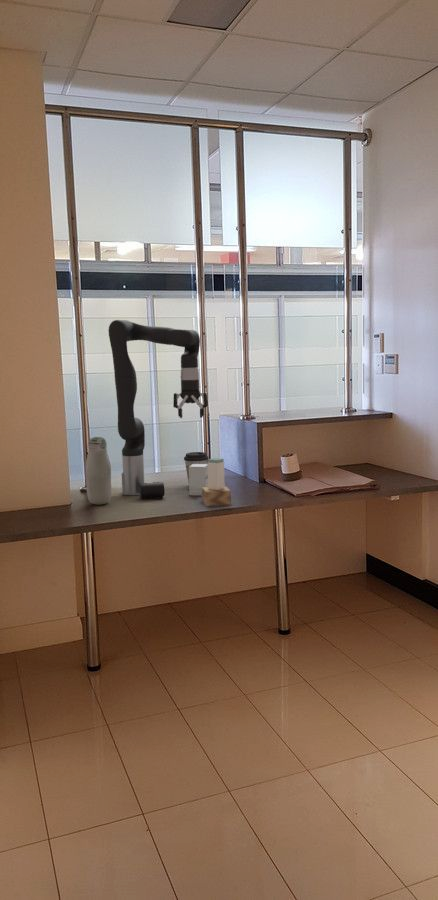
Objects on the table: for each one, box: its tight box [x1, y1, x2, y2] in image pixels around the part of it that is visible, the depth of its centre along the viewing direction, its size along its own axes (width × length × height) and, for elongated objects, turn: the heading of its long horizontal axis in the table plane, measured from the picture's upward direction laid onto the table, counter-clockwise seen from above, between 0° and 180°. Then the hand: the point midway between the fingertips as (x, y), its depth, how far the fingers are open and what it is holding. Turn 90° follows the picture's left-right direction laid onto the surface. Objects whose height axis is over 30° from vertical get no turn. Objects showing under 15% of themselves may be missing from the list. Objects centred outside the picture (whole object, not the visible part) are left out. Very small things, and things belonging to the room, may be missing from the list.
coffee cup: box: [183, 451, 209, 484], centre depth 324 cm, size 11×11×15 cm
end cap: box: [139, 481, 166, 500], centre depth 301 cm, size 10×7×7 cm
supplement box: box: [188, 463, 208, 497], centre depth 307 cm, size 7×7×13 cm
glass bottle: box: [84, 436, 112, 506], centre depth 291 cm, size 10×10×28 cm
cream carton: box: [207, 457, 225, 490], centre depth 289 cm, size 5×5×12 cm
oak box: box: [201, 485, 232, 507], centre depth 290 cm, size 10×10×6 cm
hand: (191, 417), depth 295 cm, fingers open, 8 cm apart
